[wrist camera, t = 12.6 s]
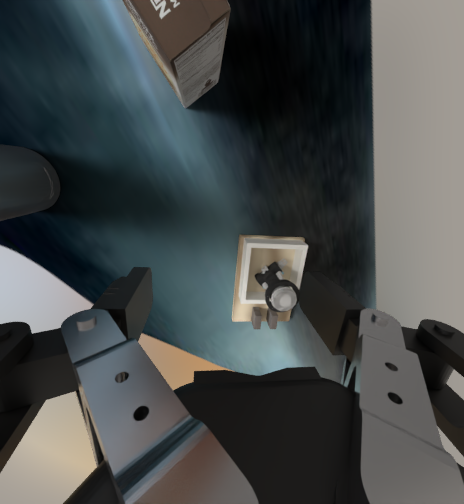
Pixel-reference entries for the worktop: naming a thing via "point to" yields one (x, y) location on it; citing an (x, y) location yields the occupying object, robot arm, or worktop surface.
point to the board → (257, 262)
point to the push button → (278, 288)
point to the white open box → (249, 243)
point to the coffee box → (184, 41)
